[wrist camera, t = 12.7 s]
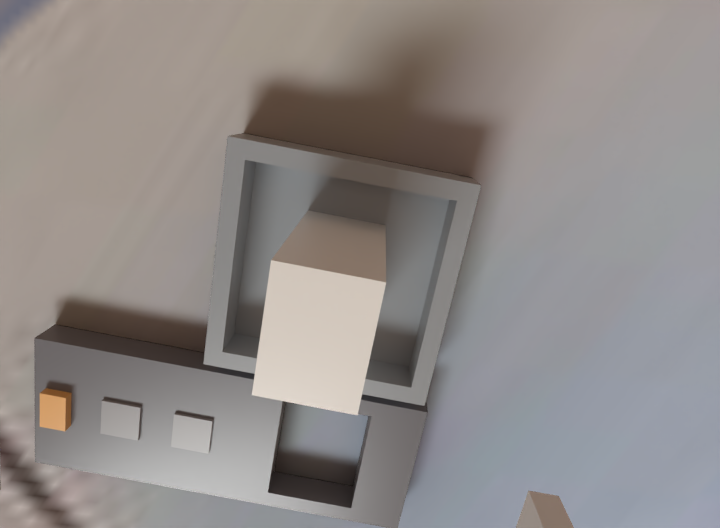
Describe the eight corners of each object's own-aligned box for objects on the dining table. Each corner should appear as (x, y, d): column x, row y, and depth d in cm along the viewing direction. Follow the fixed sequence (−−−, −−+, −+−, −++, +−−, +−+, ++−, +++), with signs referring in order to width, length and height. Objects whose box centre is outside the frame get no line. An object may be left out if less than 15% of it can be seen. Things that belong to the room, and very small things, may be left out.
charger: (292, 306, 31) (251, 395, 21) (308, 210, 29) (270, 260, 20) (365, 320, 31) (357, 415, 21) (385, 225, 29) (386, 282, 20)
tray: (219, 341, 32) (203, 364, 30) (243, 133, 29) (227, 136, 26) (420, 379, 33) (424, 405, 30) (471, 177, 29) (481, 185, 26)
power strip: (53, 442, 35) (28, 468, 33) (55, 324, 33) (27, 342, 30) (396, 506, 36) (397, 536, 33) (425, 394, 33) (428, 418, 30)
